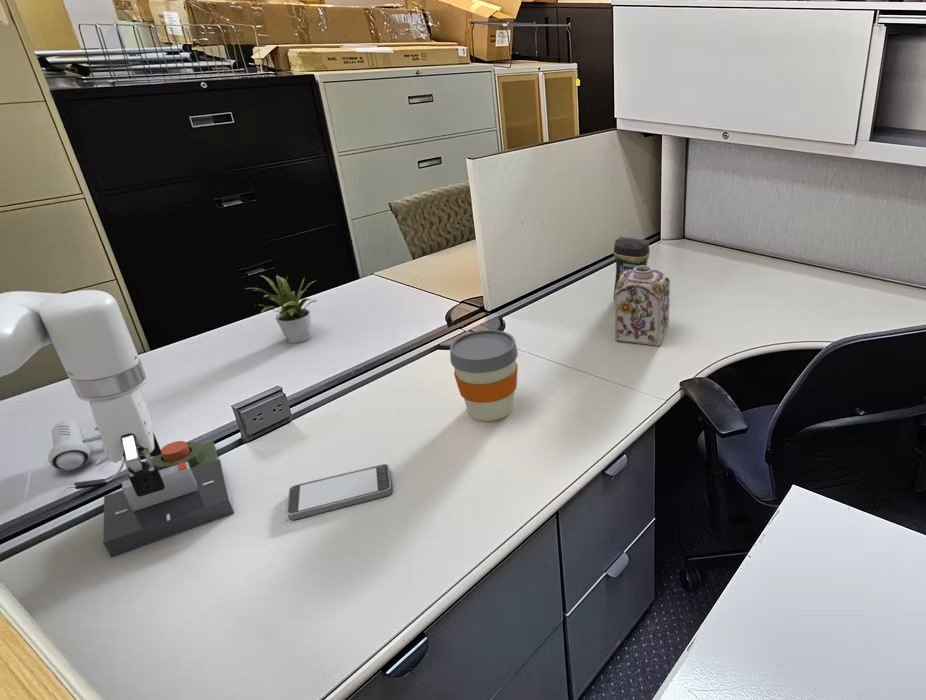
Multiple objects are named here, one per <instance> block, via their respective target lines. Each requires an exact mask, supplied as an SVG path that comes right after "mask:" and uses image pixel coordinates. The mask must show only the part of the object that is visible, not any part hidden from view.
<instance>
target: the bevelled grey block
mask: <svg viewBox="0 0 926 700" xmlns="http://www.w3.org/2000/svg"><path fill="white" fill-rule="evenodd" d="M159 473H160V475H161V477H162V480H163V482H164V485H165V488H164V489H163V490H160V491H157V492H154V493H151V494H147V495H144V496H141V497H139V496H137V495H136V492H135V490H134V488H133V486H132V483H131V481H130V479H127V480H123V481H122V482H121V490H123V492H124V494H125V496H126V498H127V500H128V502H129V504H130V506H131V508H132V510H133V511H137V510H140V509H143V508H146V507H149V506H152V505H155V504H158V503H161V502H164V501H167V500H170V499H173V498H176V497H179V496H182V495H185V494H189V493H192V492H195V491H198V486H197V482H196V480H195V477H194V475H193V473H192V470H191V468H190V466H189V463H188V462H186V461H185V462H182V463H179V464H178V465H175V466H172V467H169V468H166V469H162V470H159Z"/></svg>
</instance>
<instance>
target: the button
mask: <svg viewBox="0 0 926 700" xmlns="http://www.w3.org/2000/svg"><path fill="white" fill-rule="evenodd" d="M186 442H187V441H183V440H178V441H176V440H175V441H173V442H169V443H168V444H165V445H164V446H163V447H162V448H160V449H161V454H162V457H163V459H164V461H165V462H174V461H177V460H180V459H182V458H184V457H186V456H188V455H189V454H190V450H189V447H188V445H187V443H186Z"/></svg>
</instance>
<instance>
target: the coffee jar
mask: <svg viewBox="0 0 926 700" xmlns="http://www.w3.org/2000/svg"><path fill="white" fill-rule="evenodd" d="M614 242H615V243H614V247H613V257H614V260H615V281H614V291H613V300H614V302H615V290H616V286H617V283H618V280H619V278H620V275H621V274H622V273H623V272H624V271H627V270H631V269H634V268H635V267H637V266H641V265H645V266H648V261H649V258H650V254H651V251H650V243H649V240H648V239H641V238H634V237H626V236H619V237H617V239H616V240H615V241H614Z"/></svg>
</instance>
